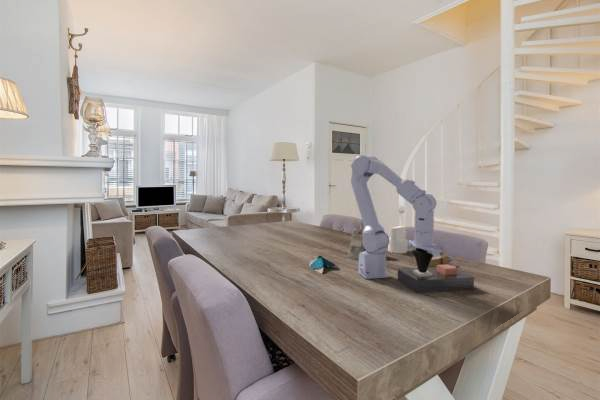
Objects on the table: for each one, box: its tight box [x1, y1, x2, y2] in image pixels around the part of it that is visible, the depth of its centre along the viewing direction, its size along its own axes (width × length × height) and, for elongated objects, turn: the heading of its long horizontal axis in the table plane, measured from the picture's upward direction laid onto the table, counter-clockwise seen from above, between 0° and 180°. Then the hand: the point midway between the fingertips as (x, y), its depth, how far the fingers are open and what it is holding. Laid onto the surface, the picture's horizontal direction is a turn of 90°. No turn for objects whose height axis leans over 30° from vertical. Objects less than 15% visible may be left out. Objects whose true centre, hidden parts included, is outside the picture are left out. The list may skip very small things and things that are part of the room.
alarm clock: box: [411, 251, 453, 268], centre depth 126 cm, size 11×5×15 cm
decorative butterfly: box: [308, 254, 340, 274], centre depth 119 cm, size 10×6×10 cm
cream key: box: [413, 270, 433, 277], centre depth 100 cm, size 4×4×3 cm
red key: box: [437, 263, 458, 275], centre depth 102 cm, size 4×4×3 cm
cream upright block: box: [387, 225, 409, 254], centre depth 148 cm, size 9×9×12 cm
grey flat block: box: [397, 267, 475, 294], centre depth 101 cm, size 20×12×4 cm, turn 101°
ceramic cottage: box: [346, 222, 388, 260], centre depth 138 cm, size 16×16×15 cm
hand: (422, 271), depth 100 cm, fingers closed, pressing on cream key
